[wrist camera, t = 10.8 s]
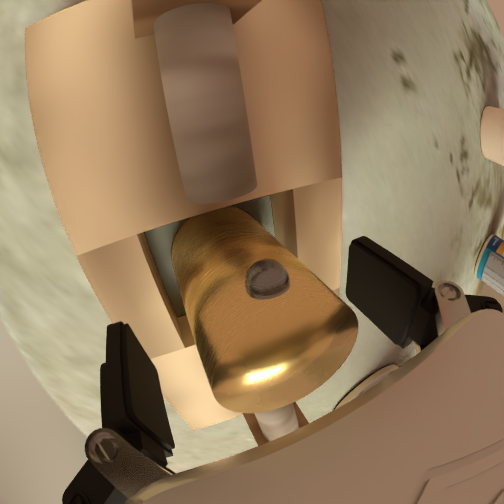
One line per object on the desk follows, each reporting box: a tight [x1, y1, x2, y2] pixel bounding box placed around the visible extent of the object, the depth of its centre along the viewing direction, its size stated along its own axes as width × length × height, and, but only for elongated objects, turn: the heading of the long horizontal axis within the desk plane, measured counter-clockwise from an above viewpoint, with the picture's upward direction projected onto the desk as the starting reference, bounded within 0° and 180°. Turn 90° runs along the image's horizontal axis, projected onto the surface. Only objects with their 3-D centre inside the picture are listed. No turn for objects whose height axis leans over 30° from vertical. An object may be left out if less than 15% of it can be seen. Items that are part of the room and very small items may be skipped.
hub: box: [171, 206, 358, 413], centre depth 11 cm, size 5×6×8 cm
